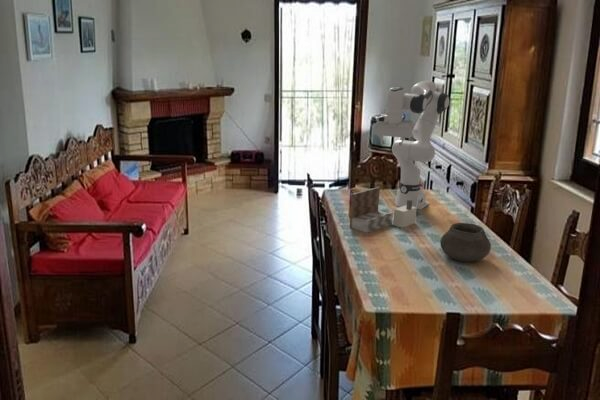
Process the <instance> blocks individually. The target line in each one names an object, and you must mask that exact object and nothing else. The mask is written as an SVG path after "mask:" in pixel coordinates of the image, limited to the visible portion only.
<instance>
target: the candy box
mask: <svg viewBox="0 0 600 400" xmlns="http://www.w3.org/2000/svg"><path fill="white" fill-rule="evenodd" d="M361 191H364V190H363V189H361V188H357V187H350V190H349V201H348V215H349V216H350V213H351V198H352V194H353V193H357V192H361Z"/></svg>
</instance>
